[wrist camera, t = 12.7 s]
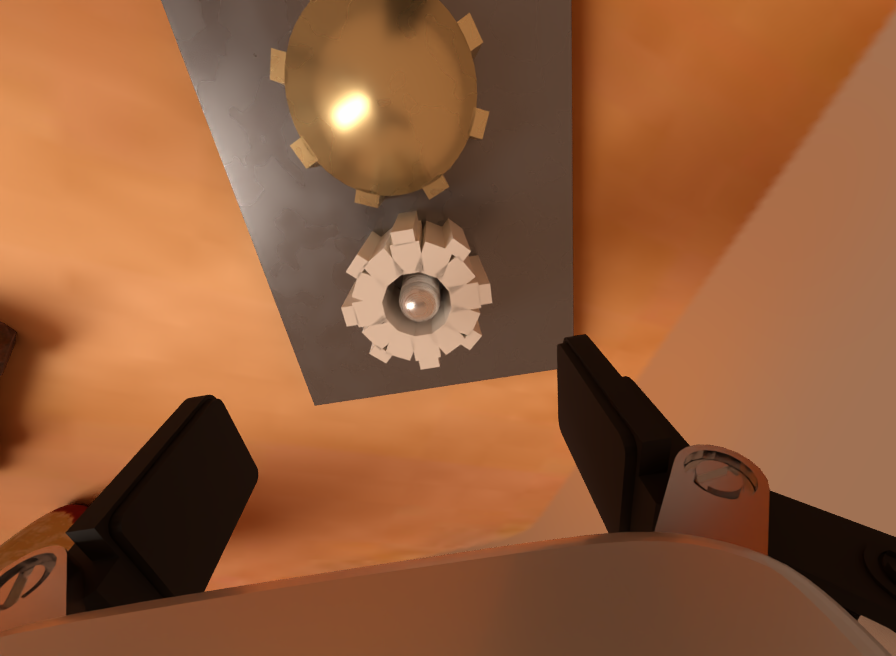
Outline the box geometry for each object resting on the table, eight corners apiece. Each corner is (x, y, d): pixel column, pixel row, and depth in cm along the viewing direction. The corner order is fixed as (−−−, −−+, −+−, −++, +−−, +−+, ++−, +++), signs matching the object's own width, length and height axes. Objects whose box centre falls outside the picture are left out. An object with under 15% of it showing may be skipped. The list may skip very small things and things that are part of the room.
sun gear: (252, 64, 18) (221, 49, 15) (416, -69, 16) (413, -112, 13) (369, 231, 21) (360, 244, 19) (513, 138, 20) (526, 137, 17)
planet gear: (344, 222, 21) (321, 244, 17) (471, 201, 21) (482, 217, 16) (375, 335, 24) (362, 378, 20) (485, 317, 24) (498, 357, 20)
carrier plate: (163, -38, 17) (10, -142, 11) (559, -111, 17) (637, -264, 10) (320, 392, 28) (288, 466, 21) (566, 355, 27) (607, 419, 21)
